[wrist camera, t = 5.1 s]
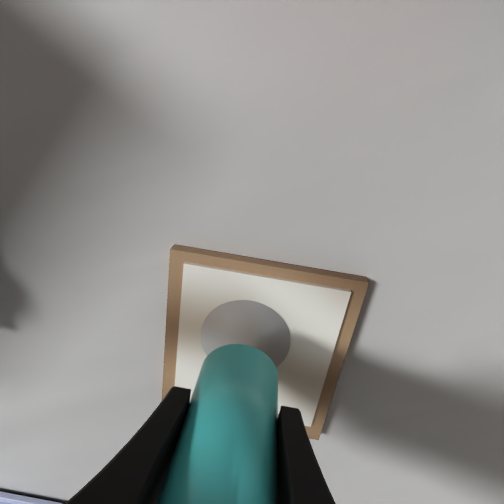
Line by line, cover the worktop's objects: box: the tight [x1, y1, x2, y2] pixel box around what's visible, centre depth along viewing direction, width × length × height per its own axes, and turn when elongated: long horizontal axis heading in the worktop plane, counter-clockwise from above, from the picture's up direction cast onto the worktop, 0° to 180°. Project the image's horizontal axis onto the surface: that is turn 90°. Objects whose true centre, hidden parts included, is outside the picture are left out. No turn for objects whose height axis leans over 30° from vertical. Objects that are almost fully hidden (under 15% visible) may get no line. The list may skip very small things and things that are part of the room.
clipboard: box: [162, 245, 369, 440], centre depth 16 cm, size 10×9×1 cm
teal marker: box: [157, 344, 278, 504], centre depth 10 cm, size 3×3×8 cm
